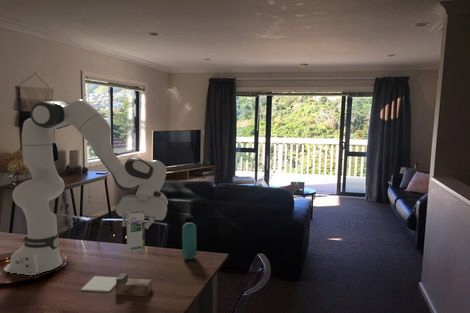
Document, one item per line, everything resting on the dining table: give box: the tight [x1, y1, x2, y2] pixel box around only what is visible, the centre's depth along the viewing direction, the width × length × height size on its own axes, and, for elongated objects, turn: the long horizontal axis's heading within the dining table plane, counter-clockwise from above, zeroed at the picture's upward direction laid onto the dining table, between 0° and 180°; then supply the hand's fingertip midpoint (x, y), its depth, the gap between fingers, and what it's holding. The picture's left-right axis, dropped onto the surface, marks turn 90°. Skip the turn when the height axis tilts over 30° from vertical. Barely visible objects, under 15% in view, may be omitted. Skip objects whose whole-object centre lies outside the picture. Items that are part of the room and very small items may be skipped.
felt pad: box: [80, 275, 118, 293], centre depth 142 cm, size 11×11×1 cm
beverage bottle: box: [181, 215, 198, 260], centre depth 166 cm, size 6×7×20 cm
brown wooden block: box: [115, 272, 153, 297], centre depth 136 cm, size 12×5×6 cm, turn 85°
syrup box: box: [126, 211, 146, 252], centre depth 141 cm, size 6×6×14 cm
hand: (134, 227), depth 140 cm, fingers closed on syrup box, 8 cm apart
